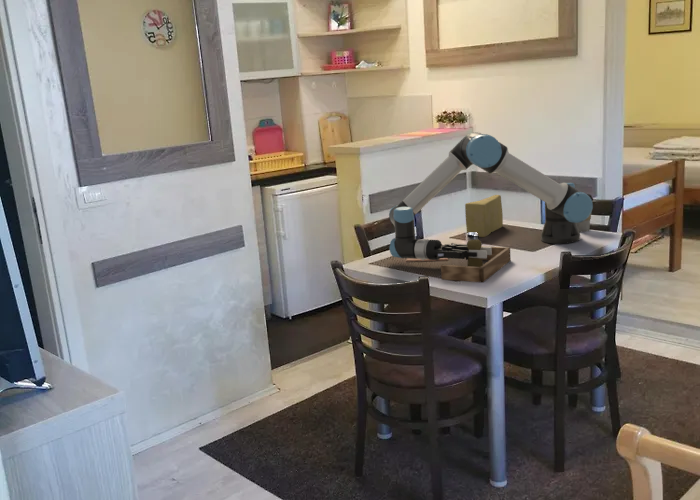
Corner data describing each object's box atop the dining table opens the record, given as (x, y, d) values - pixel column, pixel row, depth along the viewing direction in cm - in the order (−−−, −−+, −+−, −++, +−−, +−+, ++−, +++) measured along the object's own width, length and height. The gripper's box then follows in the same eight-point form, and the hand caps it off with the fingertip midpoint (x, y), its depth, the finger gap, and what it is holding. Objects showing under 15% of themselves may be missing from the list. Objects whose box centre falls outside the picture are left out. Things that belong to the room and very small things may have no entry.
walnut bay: (441, 279, 240) (440, 265, 239) (472, 258, 263) (471, 245, 262) (482, 282, 232) (482, 268, 231) (510, 260, 255) (510, 247, 254)
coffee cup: (595, 232, 285) (594, 196, 281) (571, 233, 287) (570, 198, 284) (591, 227, 294) (591, 192, 290) (569, 228, 296) (568, 194, 292)
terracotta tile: (450, 249, 279) (450, 248, 278) (447, 260, 263) (447, 258, 263) (411, 251, 282) (411, 249, 282) (406, 261, 267) (406, 260, 267)
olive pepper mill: (465, 268, 251) (463, 239, 248) (481, 266, 251) (479, 237, 248) (469, 272, 245) (467, 242, 242) (485, 270, 245) (484, 240, 242)
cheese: (492, 225, 315) (490, 193, 312) (511, 227, 309) (509, 194, 305) (465, 236, 300) (464, 202, 296) (485, 238, 293) (483, 203, 290)
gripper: (439, 253, 264) (497, 256, 251) (419, 265, 250) (480, 269, 237) (438, 234, 262) (496, 236, 249) (418, 245, 248) (479, 248, 235)
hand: (488, 252), depth 243 cm, fingers closed on olive pepper mill, 4 cm apart
